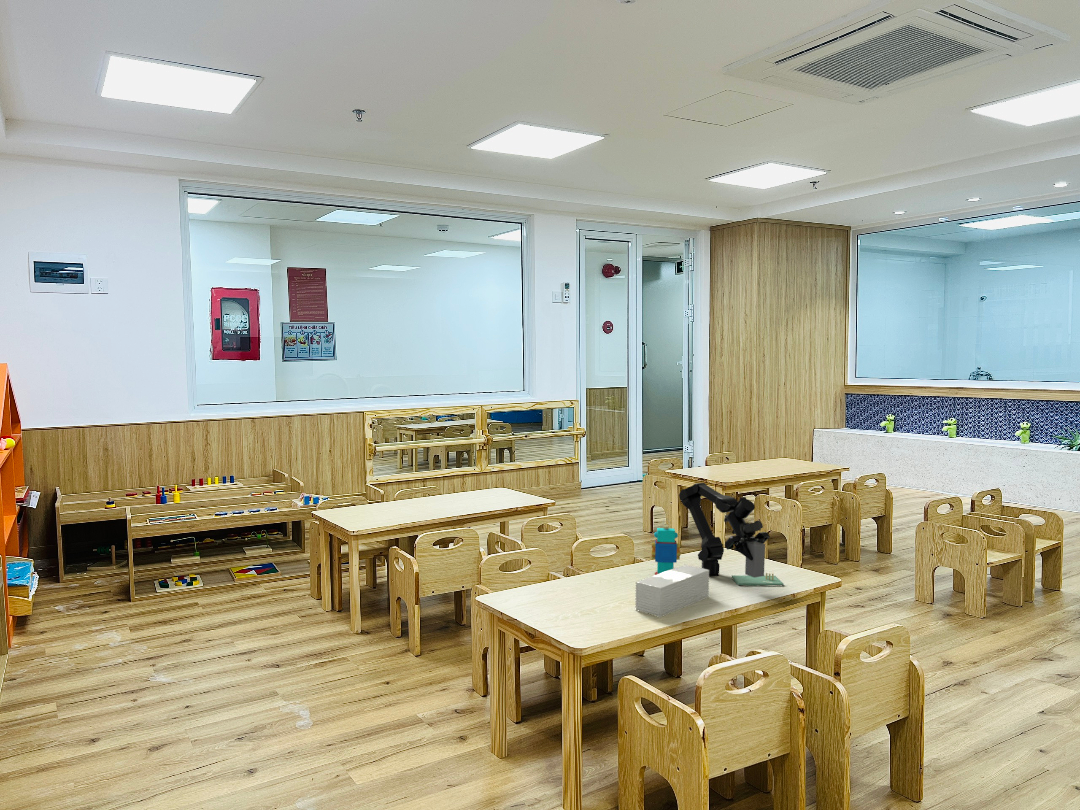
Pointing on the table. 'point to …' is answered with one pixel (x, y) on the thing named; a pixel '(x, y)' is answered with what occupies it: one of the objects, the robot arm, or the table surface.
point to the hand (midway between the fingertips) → (757, 559)
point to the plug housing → (755, 559)
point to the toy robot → (665, 549)
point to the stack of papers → (672, 590)
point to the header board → (757, 580)
